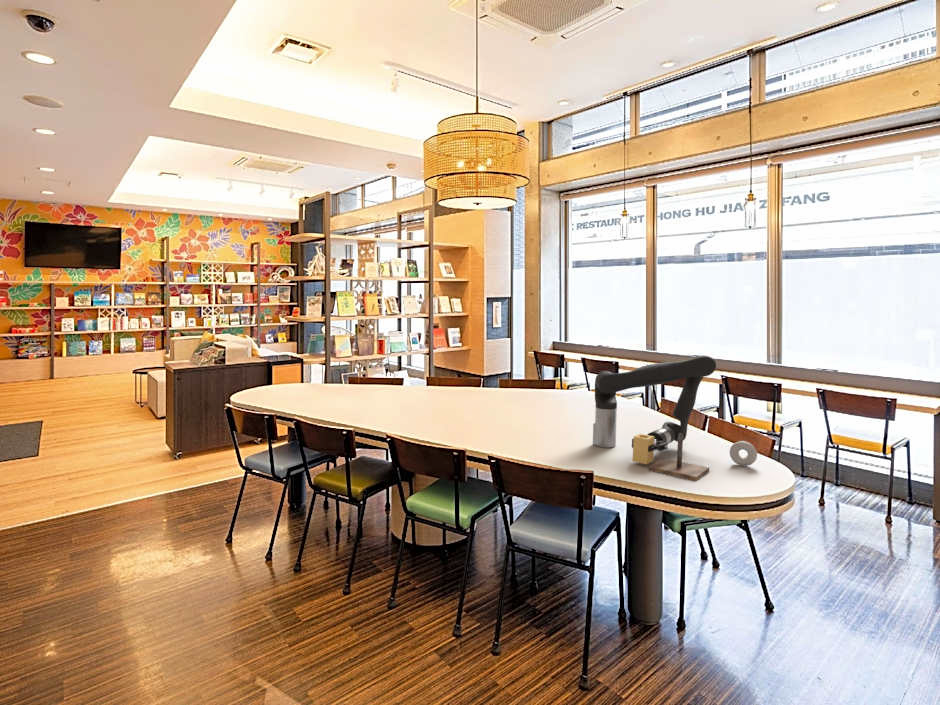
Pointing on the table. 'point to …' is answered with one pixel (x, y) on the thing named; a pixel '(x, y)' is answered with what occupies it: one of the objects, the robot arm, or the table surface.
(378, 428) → the table surface
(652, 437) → the bead
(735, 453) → the donut
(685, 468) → the spindle stand
